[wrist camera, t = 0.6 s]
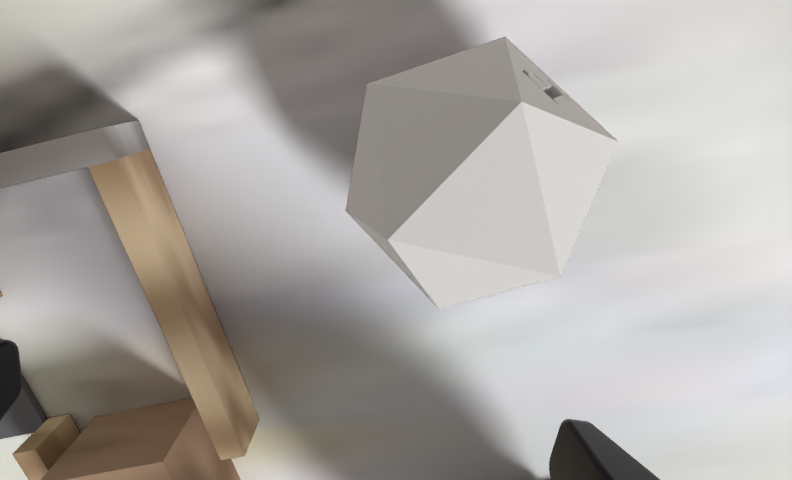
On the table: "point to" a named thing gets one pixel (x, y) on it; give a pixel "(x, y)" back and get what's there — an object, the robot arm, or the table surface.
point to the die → (475, 172)
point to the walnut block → (144, 447)
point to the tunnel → (144, 282)
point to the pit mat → (22, 415)
